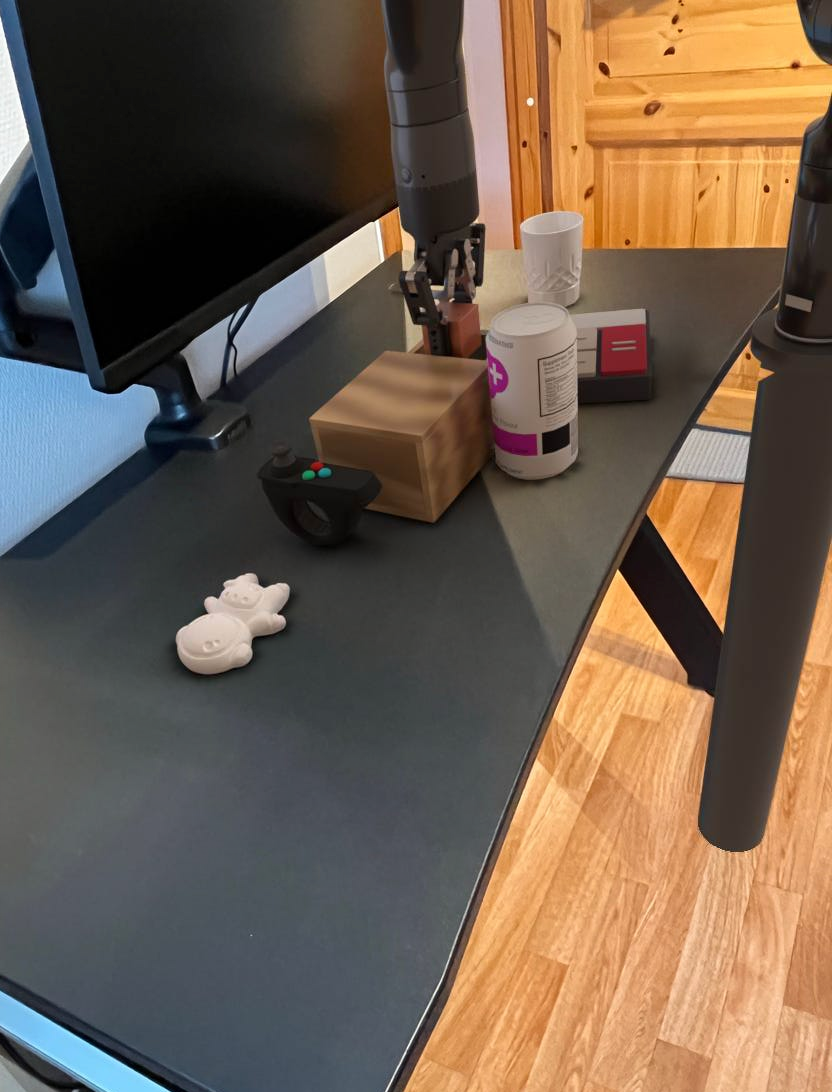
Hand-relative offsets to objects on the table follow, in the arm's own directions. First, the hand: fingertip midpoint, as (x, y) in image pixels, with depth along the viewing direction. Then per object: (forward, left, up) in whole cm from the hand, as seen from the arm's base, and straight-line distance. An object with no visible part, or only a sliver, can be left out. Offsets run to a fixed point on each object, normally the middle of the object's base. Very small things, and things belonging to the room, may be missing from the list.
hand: (453, 345), depth 92 cm
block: (0, 0, -1) cm, 1 cm away
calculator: (-10, -14, -9) cm, 20 cm away
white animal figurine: (+3, +38, -9) cm, 39 cm away
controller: (+2, +24, -9) cm, 26 cm away
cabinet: (0, +11, -9) cm, 14 cm away
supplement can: (-11, +5, -9) cm, 15 cm away
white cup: (+3, -32, -9) cm, 34 cm away
